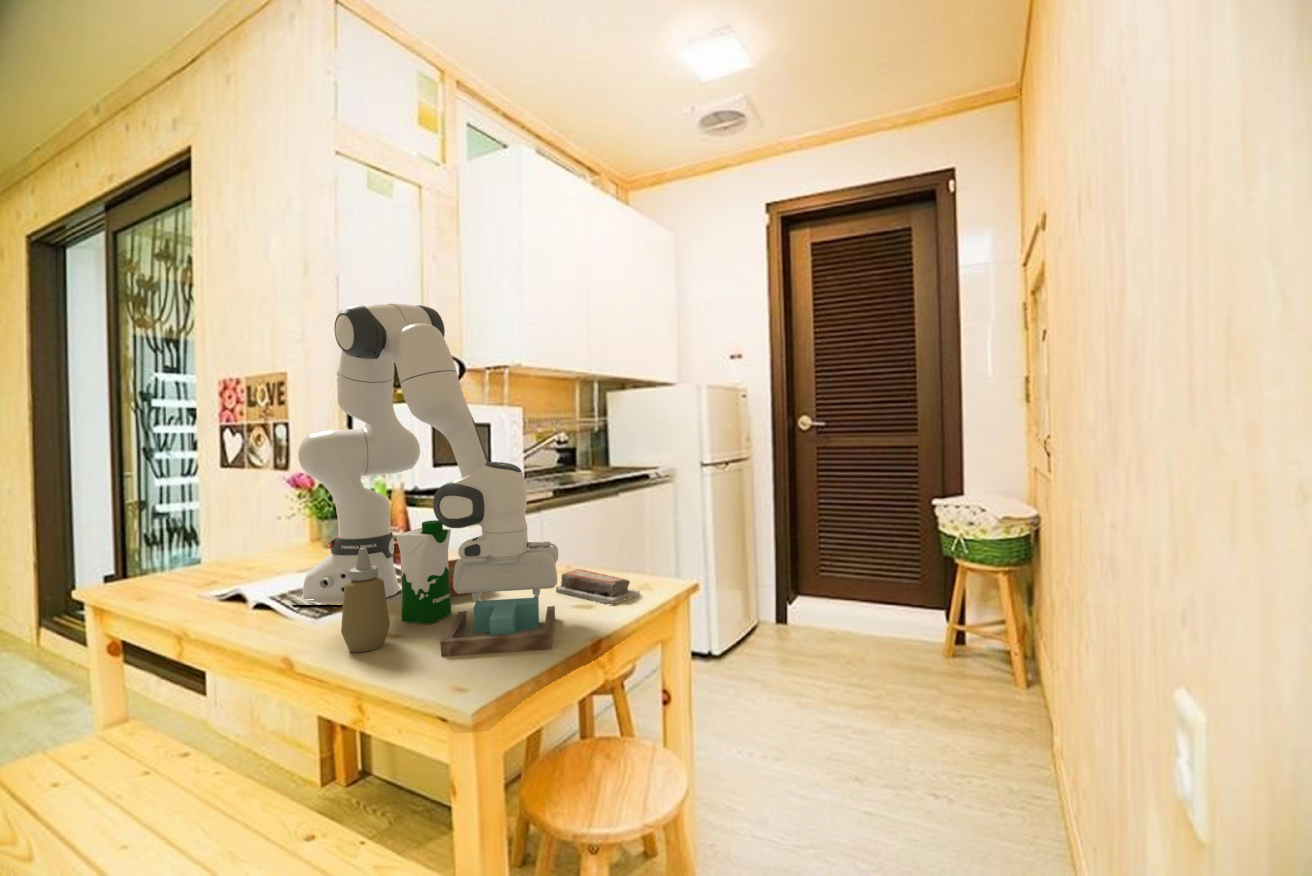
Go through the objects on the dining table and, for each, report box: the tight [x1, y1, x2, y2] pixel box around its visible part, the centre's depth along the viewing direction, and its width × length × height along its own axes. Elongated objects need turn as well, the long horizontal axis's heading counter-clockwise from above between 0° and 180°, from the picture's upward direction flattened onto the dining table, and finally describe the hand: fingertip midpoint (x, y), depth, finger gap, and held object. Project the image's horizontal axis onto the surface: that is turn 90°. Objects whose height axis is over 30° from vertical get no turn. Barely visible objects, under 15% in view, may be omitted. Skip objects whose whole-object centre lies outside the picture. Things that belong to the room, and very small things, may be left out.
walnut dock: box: [440, 605, 556, 657], centre depth 116 cm, size 19×16×2 cm
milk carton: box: [395, 519, 452, 625], centre depth 127 cm, size 9×9×20 cm
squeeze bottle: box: [340, 548, 391, 653], centre depth 111 cm, size 8×8×18 cm
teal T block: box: [473, 597, 540, 636], centre depth 116 cm, size 12×12×5 cm
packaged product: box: [555, 568, 641, 606], centre depth 142 cm, size 18×5×10 cm
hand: (507, 612), depth 123 cm, fingers open, 8 cm apart
